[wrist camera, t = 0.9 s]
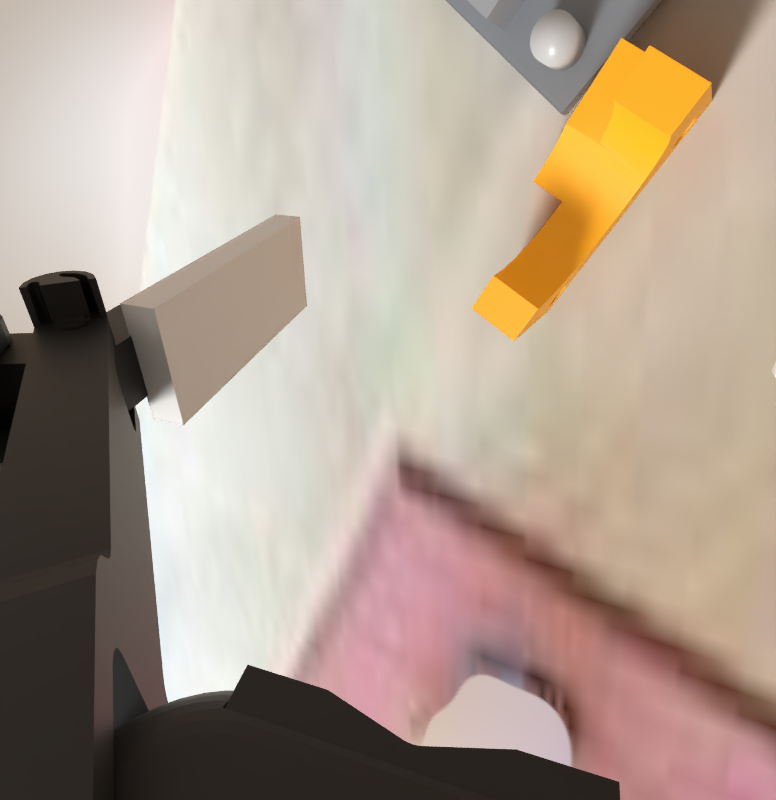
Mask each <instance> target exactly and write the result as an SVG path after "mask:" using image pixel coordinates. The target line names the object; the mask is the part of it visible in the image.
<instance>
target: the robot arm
mask: <svg viewBox="0 0 776 800" xmlns="http://www.w3.org/2000/svg"><path fill="white" fill-rule="evenodd" d="M19 290H20V292H21V295H22V297H23V300H24V302H25V305H26V307H27V310H28V312H29V315H30V318H31V320H32V323H33V325H34V332H33V333H20V334H19V333H18V334H9V331H8V329H7V327H6V324H5V322H4V320H3V317H2V316H1V315H0V800H620V789H619V782H617V781H614V780H611V779H608V778H605V777H601V776H598V775H595V774H592V773H589V772H586V771H582V770H579V769H576V768H573V767H570V766H566V765H563V764H560V763H557V762H554V761H550V760H547V759H544V758H541V757H538V756H535V755H532V754H528V753H525V752H522V751H519V750H511V749H484V748H454V747H429V746H417V745H413V744H410V743H408V742H406V741H404V740H402V739H401V738H399V737H398V736H396V735H395V734H393V733H392V732H390V731H389V730H387V729H386V728H384V727H383V726H381V725H380V724H378V723H377V722H375V721H374V720H372V719H371V718H369V717H368V716H366V715H365V714H363V713H362V712H360V711H359V710H357V709H356V708H354V707H353V706H351V705H350V704H348V703H347V702H345V701H343V700H342V699H340V698H339V697H337V696H336V695H334V694H333V693H331V692H330V691H328V690H326V689H323V688H320V687H316V686H313V685H310V684H307V683H304V682H301V681H297V680H294V679H291V678H288V677H285V676H282V675H278V674H275V673H272V672H269V671H266V670H263V669H259V668H256V667H253V666H250V665H247V667H246V669H245V671H244V673H243V675H242V677H241V678H240V680H239V682H238V684H237V686H236V688H235V690H234V691H219V692H209V693H203V694H198V695H194V696H190V697H185V698H181V699H178V700H175V701H173V702H170V703H168V701H167V697H166V692H165V687H164V679H163V670H162V659H161V649H160V638H159V627H158V616H157V606H156V595H155V584H154V573H153V563H152V552H151V541H150V530H149V519H148V509H147V498H146V487H145V476H144V466H143V455H142V444H141V433H140V423H139V418H138V414H137V411H136V408H135V406H136V405H137V404H138V403H139V402H140V401H142V400H143V399H144V398H145V397H147V398H148V402H149V405H150V409H151V412H152V416H153V419H156V420H161V421H166V422H170V423H175V424H180V425H184V424H185V423H186V422H187V421H188V420H189V419H190V418H191V417H192V416H193V415H194V414H196V413H197V412H198V411H199V410H200V409H201V408H202V407H203V406H204V405H205V404H206V403H207V402H208V401H209V400H210V399H211V398H212V397H213V396H214V395H215V394H216V393H217V392H218V391H219V390H220V389H221V388H222V387H223V386H224V385H225V384H226V383H227V382H229V381H230V380H231V379H232V378H233V377H234V376H235V375H236V374H237V373H238V372H239V371H240V370H241V369H242V368H243V367H244V366H245V365H246V364H247V363H248V362H249V361H250V360H251V359H252V358H253V357H254V356H255V355H256V354H257V353H258V352H259V351H260V350H262V349H263V348H264V347H265V346H266V345H267V344H268V343H269V342H270V341H271V340H272V339H273V338H274V337H275V336H276V335H277V334H278V333H279V332H280V331H281V330H282V329H283V328H284V327H285V326H286V325H287V324H288V323H289V322H290V321H291V320H292V319H293V318H295V317H296V316H297V315H298V314H299V313H300V312H301V311H302V310H303V309H304V308H305V307H306V306H307V302H306V290H305V277H304V264H303V251H302V239H301V226H300V217H295V216H284V215H274V216H272V217H271V218H269V219H267V220H265V221H264V222H262V223H260V224H258V225H257V226H255V227H253V228H251V229H250V230H248V231H246V232H244V233H243V234H241V235H239V236H237V237H236V238H234V239H232V240H230V241H229V242H227V243H225V244H223V245H222V246H220V247H218V248H216V249H215V250H213V251H211V252H210V253H208V254H206V255H204V256H203V257H201V258H199V259H197V260H196V261H194V262H192V263H190V264H189V265H187V266H185V267H183V268H182V269H180V270H178V271H176V272H175V273H173V274H171V275H169V276H168V277H166V278H164V279H162V280H161V281H159V282H157V283H155V284H154V285H152V286H150V287H148V288H147V289H145V290H143V291H141V292H140V293H138V294H136V295H134V296H133V297H131V298H129V299H127V300H126V301H124V302H122V303H121V304H120V305H119V306H117V307H115V308H113V309H112V310H110V311H108V312H106V310H105V307H104V304H103V300H102V297H101V294H100V291H99V287H98V284H97V281H96V278H95V276H94V275H93V274H91V273H88V272H83V271H63V272H55V273H49V274H45V275H42V276H38V277H35V278H32V279H30V280H28V281H26V282H24V283H23V284H22V285H21V286H20V287H19ZM772 372H773V374H774V376H775V378H776V362H775V364H774V366H773V368H772Z"/></svg>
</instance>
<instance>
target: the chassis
mask: <svg viewBox="0 0 776 800" xmlns="http://www.w3.org/2000/svg"><path fill="white" fill-rule="evenodd" d="M446 1H447V2H448V3H449V4H450V5H451V6H452V7H453V8H454V9H455V10H456V11H457V12H458V13H459V14H460V15H461V16H462V17H463V18H464V19H465V20H466V21H467V22H468V23H469V24H470V25H471V26H472V27H473V28H474V29H475V30H476V31H477V32H478V33H479V34H480V35H481V36H482V37H483V38H484V39H485V40H486V41H487V42H488V43H489V44H491V45H492V46H493V47H494V48H495V49H496V50H497V51H498V52H499V53H500V54H501V55H502V56H503V57H504V58H505V59H506V60H507V61H508V62H509V63H510V64H511V65H512V66H513V67H514V68H515V69H516V70H517V71H518V72H519V73H520V74H521V75H522V76H523V77H524V78H525V79H526V80H527V81H528V82H529V83H530V84H531V85H532V86H533V87H534V88H535V89H536V90H537V91H538V92H539V93H540V94H541V95H542V96H543V97H545V98H546V99H547V100H548V101H549V102H550V103H551V104H552V105H553V106H554V107H555V108H556V109H557V110H558V111H559V112H560V113H561V114H563V115H567V113H568V112H569V111H570V110H571V109H572V107H573V106H574V105H575V104H576V103H577V102H578V100H579V99H580V98H581V97H582V96H583V94H584V93H585V92H586V91H587V90H588V88H589V87H590V86H591V84H592V83H593V81H594V80H595V78H596V76H597V75H598V73H599V72H600V70H601V69H602V67H603V66H604V64H605V62H606V61H607V59H608V58H609V56H610V55H611V53H612V52H613V50H614V48H615V47H616V45H617V44H618V42H619V41H620V39H621V38H623V39H624V40H626V41H629V40H630V39H631V37H632V36H633V35H634V34H635V33H636V31H637V30H638V29H639V28H640V27H641V26H642V24H643V23H644V22H645V21H646V20H647V18H648V17H649V16H650V15H651V14H652V12H653V11H654V10H655V9H656V8H657V7H658V5H659V4H660V3H661V2H662V1H663V0H446Z"/></svg>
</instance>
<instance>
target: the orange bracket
mask: <svg viewBox="0 0 776 800" xmlns="http://www.w3.org/2000/svg"><path fill="white" fill-rule="evenodd" d="M711 102H712V83H711V82H709V81H708V80H706V79H704V78H703V77H701V76H699V75H698V74H696V73H694V72H693V71H691V70H689V69H688V68H686V67H685V66H683V65H681V64H680V63H678V62H676V61H675V60H673V59H671V58H670V57H668V56H667V55H665V54H663V53H662V52H660V51H658V50H657V49H655V48H653V47H652V46H650V45H649V47H648V48H647V50H646V51H645V52H644V51H642V50H641V49H639V48H637V47H636V46H634V45H633V44H631V43H629V42H628V41H626V40H624V39H623V38H621V39H620V41H619V42H618V44H617V45H616V47H615V48H614V50H613V52H612V53H611V55H610V56H609V58H608V59H607V61H606V62H605V64H604V66H603V67H602V69H601V70H600V72H599V73H598V75H597V76H596V78H595V80H594V81H593V83H592V84H591V86H590V87H589V89H588V90H587V92H586V94H585V95H584V97H583V98H582V100H581V101H580V103H579V104H578V106H577V108H576V109H575V111H574V112H573V114H572V115H571V117H570V118H569V120H568V122H567V123H566V126H565V128H564V130H563V132H562V134H561V136H560V138H559V140H558V142H557V143H556V145H555V147H554V149H553V151H552V152H551V154H550V156H549V157H548V159H547V161H546V162H545V164H544V166H543V167H542V169H541V170H540V172H539V173H538V175H537V177H536V178H535V180H534V181H533V182H535V183H536V184H537V185H539V186H540V187H542V188H543V189H545V190H546V191H547V192H549V193H550V194H552V195H553V196H555V197H556V198H558V199H559V200H560V201H562V202H561V204H560V205H559V206H558V208H557V209H556V210H555V212H554V213H553V214H552V216H551V217H550V218H549V220H548V221H547V222H546V223H545V225H544V226H543V227H542V228H541V230H540V231H539V232H538V233H537V235H536V236H535V237H534V238H533V239H532V240H531V242H530V243H529V244H528V245H527V246H526V247H525V248H524V249H523V251H522V252H521V253H520V254H519V255H518V256H517V257H516V258H515V259H514V260H513V261H512V262H511V263H510V264H509V265H507V266H506V267H505V268H504V269H503V270H502V271H500V272H499V273H497V274H496V275H494V276H493V278H492V279H491V280H490V282H489V283H488V285H487V286H486V288H485V289H484V291H483V292H482V294H481V295H480V297H479V298H478V300H477V301H476V303H475V304H474V306H473V307H472V309H473V310H474V311H475V312H477V313H478V314H479V315H481V316H482V317H483V318H485V319H486V320H487V321H488V322H490V323H491V324H492V325H494V326H495V327H496V328H498V329H499V330H500V331H501V332H503V333H504V334H505V335H507V336H508V337H509V338H510V339H512V340H513V341H514V340H516V339H517V338H518V337H519V336H520V335H521V334H522V333H524V332H525V331H526V330H527V329H528V328H529V327H531V326H532V325H533V324H534V323H535V322H536V321H537V320H539V319H540V318H541V317H542V316H543V315H544V314H546V313H547V311H548V310H549V309H550V308H551V306H552V305H553V304H554V302H555V301H556V300H557V299H558V297H559V296H560V295H561V293H562V292H563V291H564V290H565V288H566V287H567V286H568V285H569V283H570V282H571V281H572V279H573V278H574V277H575V276H576V274H577V273H578V272H579V270H580V269H581V268H582V267H583V265H584V264H585V263H586V261H587V260H588V259H589V258H590V256H591V255H592V254H593V253H594V251H595V250H596V249H597V247H598V246H599V245H600V244H601V242H602V241H603V240H604V238H605V237H606V236H607V235H608V233H609V232H610V231H611V229H612V228H613V227H614V226H615V224H616V223H617V222H618V221H619V219H620V218H621V217H622V215H623V214H624V213H625V212H626V210H627V209H628V208H629V206H630V205H631V204H632V203H633V201H634V200H635V199H636V198H637V196H638V195H639V194H640V192H641V191H642V190H643V189H644V187H645V186H646V185H647V183H648V182H649V181H650V180H651V178H652V177H653V176H654V174H655V173H656V172H657V171H658V169H659V168H660V167H661V166H662V164H663V163H664V162H665V160H666V159H667V158H668V157H669V155H670V154H671V153H672V151H673V150H674V149H675V148H676V146H677V145H678V144H679V142H680V141H681V140H682V139H683V137H684V136H685V135H686V134H687V132H688V131H689V130H690V128H691V127H692V126H693V125H694V123H695V122H696V121H697V119H698V118H699V117H700V116H701V114H702V113H703V112H704V111H705V109H706V108H707V107H708V105H709V104H710V103H711Z"/></svg>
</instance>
